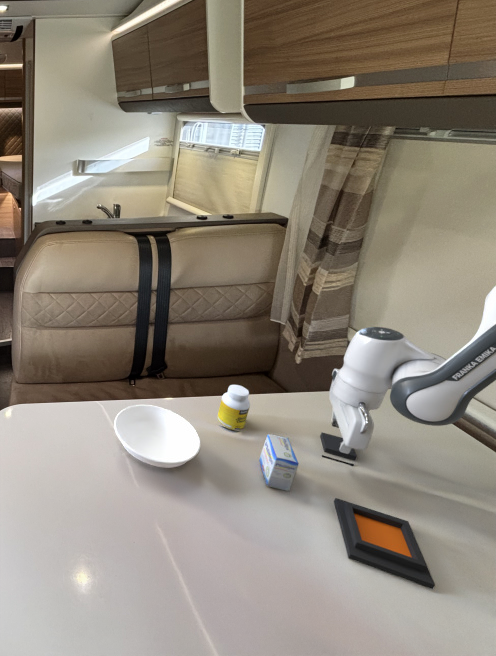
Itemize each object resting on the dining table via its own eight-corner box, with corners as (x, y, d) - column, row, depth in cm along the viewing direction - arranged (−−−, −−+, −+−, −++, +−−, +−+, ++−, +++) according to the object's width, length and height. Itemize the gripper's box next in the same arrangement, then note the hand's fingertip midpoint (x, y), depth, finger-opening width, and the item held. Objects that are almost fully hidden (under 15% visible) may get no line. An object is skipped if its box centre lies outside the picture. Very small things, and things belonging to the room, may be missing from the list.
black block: (347, 449, 106) (351, 440, 105) (353, 466, 101) (357, 456, 100) (318, 441, 109) (321, 431, 108) (322, 457, 104) (325, 447, 103)
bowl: (207, 488, 96) (212, 467, 94) (116, 478, 99) (119, 457, 97) (183, 427, 114) (187, 408, 112) (107, 419, 117) (109, 401, 115)
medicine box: (258, 460, 103) (266, 432, 100) (279, 465, 102) (288, 437, 99) (266, 486, 96) (275, 457, 93) (289, 492, 95) (299, 462, 92)
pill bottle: (229, 436, 111) (238, 400, 106) (210, 419, 117) (218, 384, 112) (249, 431, 112) (259, 395, 108) (230, 415, 118) (238, 380, 114)
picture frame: (406, 525, 87) (411, 515, 86) (432, 589, 76) (438, 579, 75) (333, 501, 93) (337, 492, 92) (348, 558, 81) (352, 548, 80)
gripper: (389, 424, 88) (366, 473, 94) (363, 372, 105) (345, 416, 110) (351, 414, 91) (331, 462, 96) (332, 365, 108) (316, 408, 113)
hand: (338, 437), depth 103 cm, fingers open, 8 cm apart
